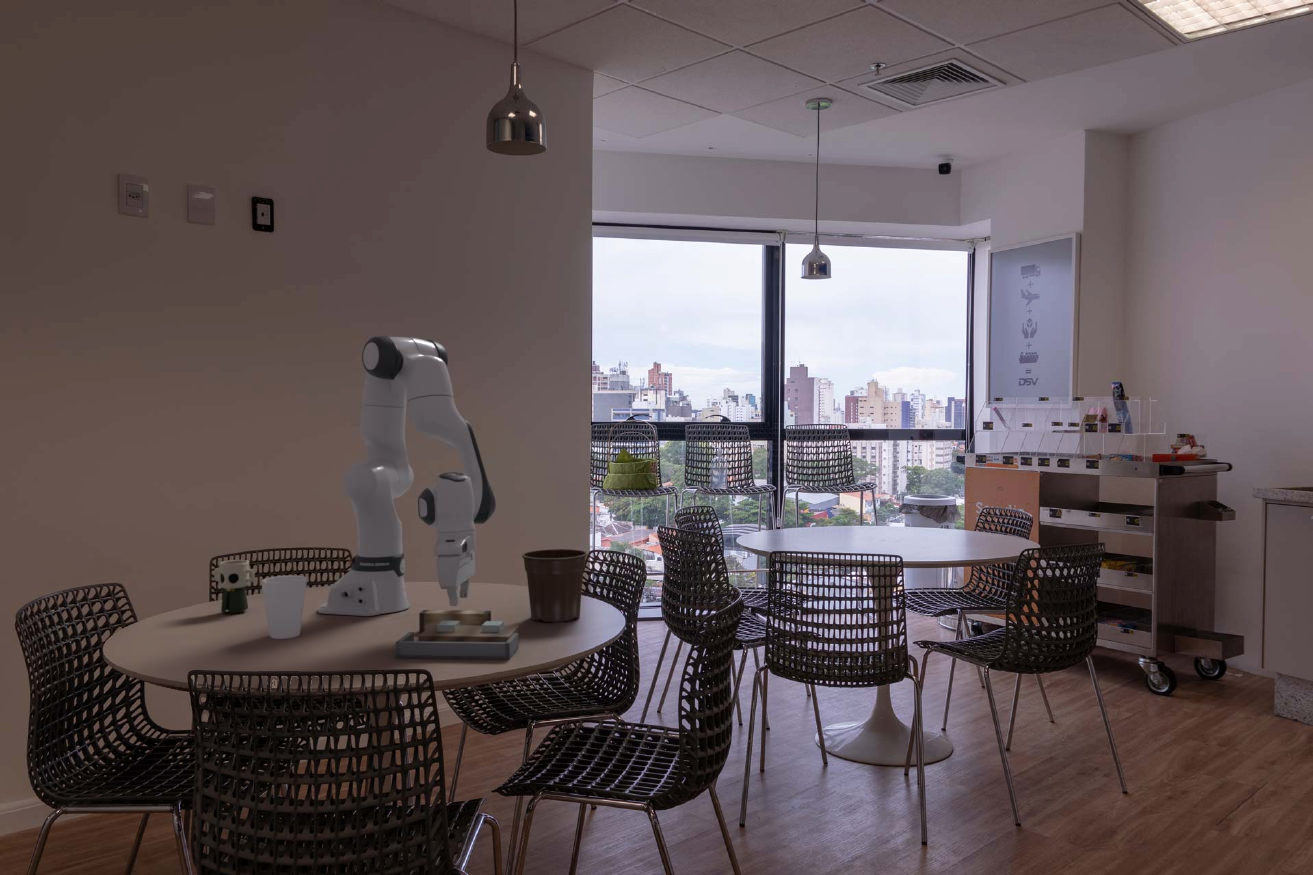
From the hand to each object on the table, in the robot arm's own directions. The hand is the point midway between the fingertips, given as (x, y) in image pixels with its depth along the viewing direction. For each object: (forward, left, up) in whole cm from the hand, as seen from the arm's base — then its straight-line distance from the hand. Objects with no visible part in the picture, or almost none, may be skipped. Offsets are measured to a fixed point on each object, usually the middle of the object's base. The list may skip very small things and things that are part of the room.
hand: (459, 601), depth 216 cm
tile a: (0, -9, -5) cm, 10 cm away
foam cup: (-39, -6, -7) cm, 40 cm away
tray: (+5, -19, -7) cm, 21 cm away
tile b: (+10, -9, -5) cm, 14 cm away
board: (+5, -10, -7) cm, 13 cm away
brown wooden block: (-1, 0, -7) cm, 7 cm away
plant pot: (+20, +15, -7) cm, 26 cm away
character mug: (-63, +17, -7) cm, 66 cm away
